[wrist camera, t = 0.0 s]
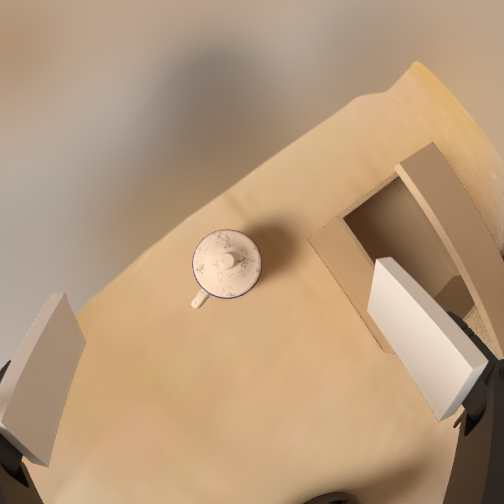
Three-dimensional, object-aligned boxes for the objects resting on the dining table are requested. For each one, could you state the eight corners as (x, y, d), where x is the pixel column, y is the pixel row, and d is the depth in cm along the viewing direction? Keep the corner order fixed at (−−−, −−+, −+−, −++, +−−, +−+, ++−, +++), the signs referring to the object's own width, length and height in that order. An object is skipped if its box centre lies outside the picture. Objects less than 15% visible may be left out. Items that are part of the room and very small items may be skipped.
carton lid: (503, 270, 38) (506, 268, 37) (497, 358, 24) (503, 356, 23) (429, 144, 40) (432, 141, 39) (393, 167, 26) (399, 163, 25)
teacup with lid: (223, 230, 49) (222, 208, 38) (267, 266, 49) (280, 255, 37) (175, 288, 47) (159, 283, 36) (219, 325, 47) (217, 332, 35)
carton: (454, 276, 51) (502, 268, 38) (383, 351, 48) (429, 363, 34) (391, 177, 53) (430, 146, 40) (307, 239, 50) (336, 216, 36)
